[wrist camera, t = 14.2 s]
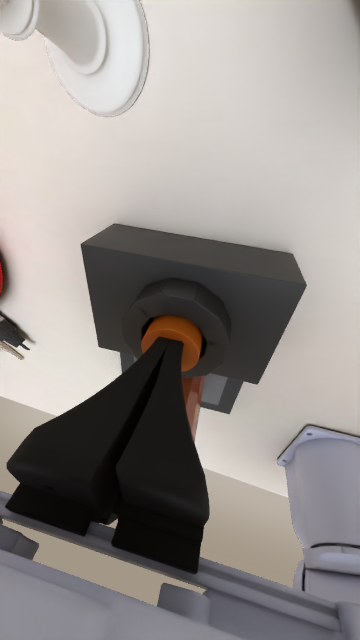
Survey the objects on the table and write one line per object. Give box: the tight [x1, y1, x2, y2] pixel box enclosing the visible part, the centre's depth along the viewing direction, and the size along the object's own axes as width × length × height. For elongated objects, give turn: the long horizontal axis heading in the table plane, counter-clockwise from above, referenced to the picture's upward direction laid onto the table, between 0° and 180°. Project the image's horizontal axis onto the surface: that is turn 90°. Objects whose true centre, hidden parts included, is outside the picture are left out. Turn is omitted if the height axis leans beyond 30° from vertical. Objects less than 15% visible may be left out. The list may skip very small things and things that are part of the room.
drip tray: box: [120, 352, 243, 414], centre depth 23 cm, size 9×12×1 cm
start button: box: [141, 314, 203, 372], centre depth 13 cm, size 3×3×2 cm
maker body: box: [81, 224, 307, 384], centre depth 15 cm, size 8×12×6 cm, turn 85°
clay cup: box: [182, 376, 205, 441], centre depth 20 cm, size 5×5×7 cm
